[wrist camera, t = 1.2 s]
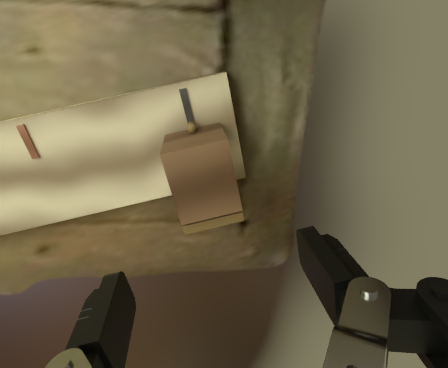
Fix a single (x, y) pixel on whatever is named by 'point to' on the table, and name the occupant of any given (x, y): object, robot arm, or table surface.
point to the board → (103, 151)
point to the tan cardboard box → (202, 177)
